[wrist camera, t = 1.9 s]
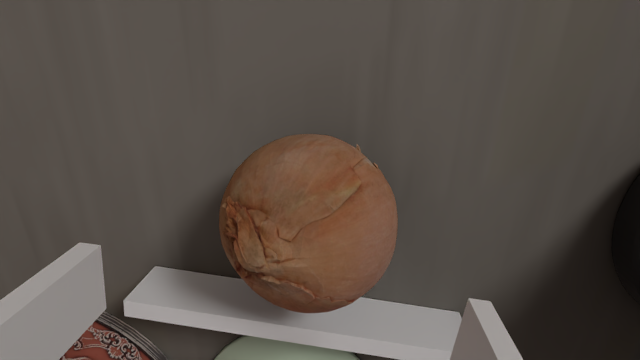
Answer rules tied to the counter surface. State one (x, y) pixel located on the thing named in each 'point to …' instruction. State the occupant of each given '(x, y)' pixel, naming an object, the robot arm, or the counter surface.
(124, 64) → the counter surface
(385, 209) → the onion
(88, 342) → the lighter
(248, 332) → the low wall
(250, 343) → the pad
